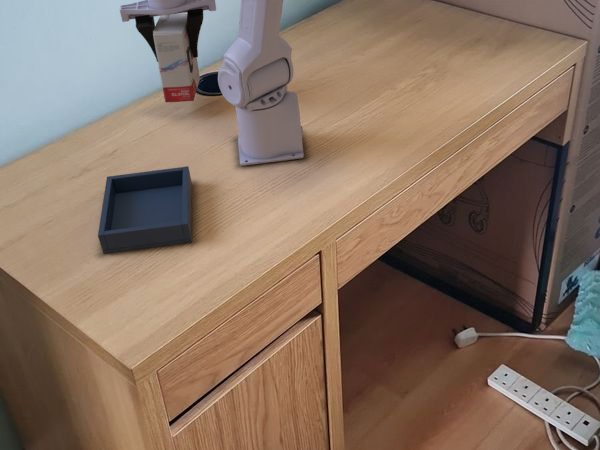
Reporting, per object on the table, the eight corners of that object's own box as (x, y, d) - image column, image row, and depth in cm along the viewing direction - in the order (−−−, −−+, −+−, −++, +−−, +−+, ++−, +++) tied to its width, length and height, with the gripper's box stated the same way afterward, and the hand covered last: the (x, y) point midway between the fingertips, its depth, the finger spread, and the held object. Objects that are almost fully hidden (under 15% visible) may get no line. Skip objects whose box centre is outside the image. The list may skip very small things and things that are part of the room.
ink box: (193, 102, 127) (183, 32, 120) (163, 103, 127) (151, 34, 120) (200, 78, 133) (191, 11, 126) (172, 79, 134) (161, 12, 127)
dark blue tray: (191, 183, 114) (188, 166, 112) (191, 242, 103) (187, 223, 101) (111, 194, 113) (106, 176, 112) (103, 253, 103) (97, 235, 101)
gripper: (209, -41, 122) (222, 41, 130) (115, -30, 121) (134, 51, 129) (210, -25, 116) (223, 59, 124) (111, -13, 115) (131, 71, 124)
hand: (177, 57), depth 126 cm, fingers closed on ink box, 5 cm apart
